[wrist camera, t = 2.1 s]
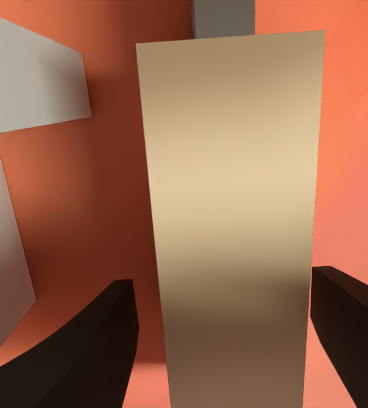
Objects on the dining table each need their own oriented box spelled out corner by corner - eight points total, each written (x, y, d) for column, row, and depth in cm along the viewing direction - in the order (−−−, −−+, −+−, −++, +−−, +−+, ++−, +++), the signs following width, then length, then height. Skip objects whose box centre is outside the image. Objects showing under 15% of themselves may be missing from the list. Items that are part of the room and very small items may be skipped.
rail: (261, 357, 14) (297, 484, 10) (181, 360, 14) (178, 487, 10) (266, -47, 10) (338, -186, 5) (150, -38, 10) (115, -164, 5)
